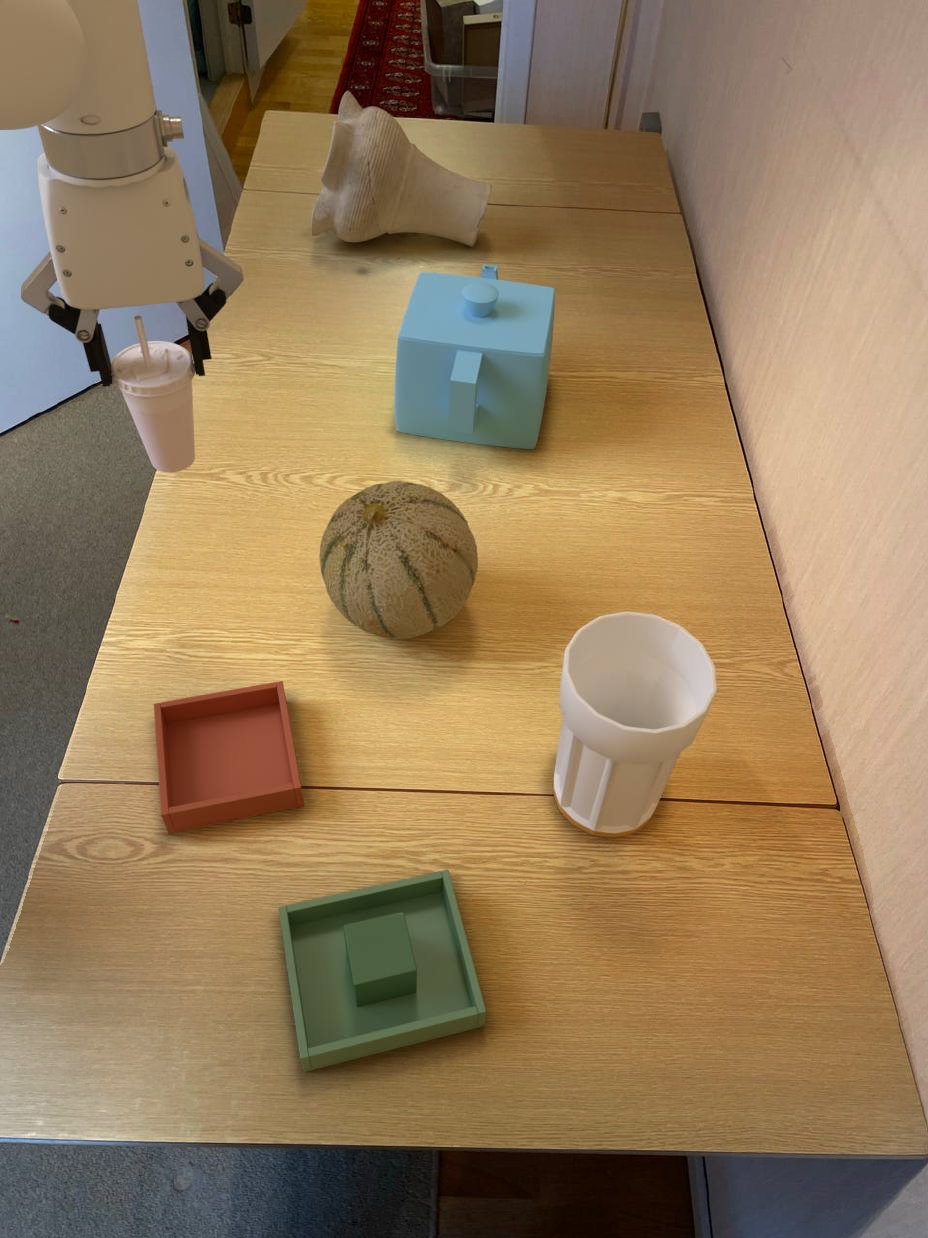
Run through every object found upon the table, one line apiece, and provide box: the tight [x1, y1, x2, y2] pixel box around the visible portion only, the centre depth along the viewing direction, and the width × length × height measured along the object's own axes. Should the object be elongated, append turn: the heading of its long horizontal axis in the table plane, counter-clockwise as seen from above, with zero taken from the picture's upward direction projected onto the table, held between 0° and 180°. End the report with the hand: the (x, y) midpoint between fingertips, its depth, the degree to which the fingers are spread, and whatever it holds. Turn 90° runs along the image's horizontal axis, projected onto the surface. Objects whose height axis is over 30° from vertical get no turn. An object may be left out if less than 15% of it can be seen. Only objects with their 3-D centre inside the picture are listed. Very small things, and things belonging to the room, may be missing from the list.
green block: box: [343, 912, 417, 1007], centre depth 72 cm, size 4×4×4 cm
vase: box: [310, 90, 492, 248], centre depth 137 cm, size 22×22×28 cm
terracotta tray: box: [153, 680, 305, 834], centre depth 84 cm, size 11×11×3 cm
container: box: [394, 263, 556, 450], centre depth 114 cm, size 17×25×15 cm
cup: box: [552, 610, 718, 838], centre depth 78 cm, size 11×11×17 cm
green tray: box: [278, 869, 487, 1073], centre depth 73 cm, size 13×11×3 cm
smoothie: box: [111, 315, 196, 474], centre depth 79 cm, size 6×6×14 cm
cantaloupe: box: [318, 480, 479, 639], centre depth 92 cm, size 15×15×15 cm
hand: (153, 369), depth 78 cm, fingers closed on smoothie, 6 cm apart
